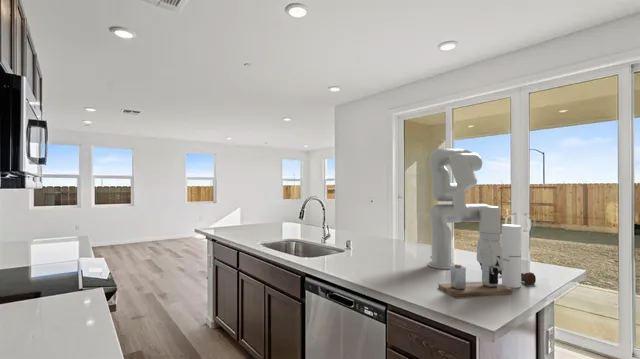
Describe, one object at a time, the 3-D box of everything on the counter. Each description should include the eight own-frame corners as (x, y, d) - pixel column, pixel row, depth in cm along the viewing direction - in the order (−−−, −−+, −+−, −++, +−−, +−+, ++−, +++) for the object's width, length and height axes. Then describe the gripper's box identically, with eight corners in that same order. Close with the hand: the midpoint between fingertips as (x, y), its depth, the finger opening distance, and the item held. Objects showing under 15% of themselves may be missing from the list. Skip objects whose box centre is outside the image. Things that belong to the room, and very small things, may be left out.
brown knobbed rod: (502, 279, 155) (533, 288, 141) (495, 275, 154) (525, 283, 140) (507, 268, 157) (537, 275, 143) (499, 263, 155) (529, 270, 141)
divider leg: (482, 283, 137) (482, 262, 137) (491, 283, 138) (491, 262, 138) (488, 286, 133) (488, 264, 133) (497, 286, 134) (497, 264, 134)
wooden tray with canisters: (438, 287, 138) (438, 262, 138) (491, 284, 142) (491, 259, 142) (455, 298, 126) (455, 269, 126) (511, 294, 130) (511, 266, 130)
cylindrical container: (521, 288, 137) (520, 227, 137) (501, 285, 141) (500, 225, 140) (521, 284, 143) (521, 225, 143) (502, 281, 147) (502, 223, 147)
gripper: (468, 233, 143) (468, 276, 143) (495, 240, 127) (495, 289, 127) (484, 232, 144) (484, 275, 144) (513, 239, 128) (513, 288, 128)
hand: (489, 281), depth 135 cm, fingers closed on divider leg, 4 cm apart
